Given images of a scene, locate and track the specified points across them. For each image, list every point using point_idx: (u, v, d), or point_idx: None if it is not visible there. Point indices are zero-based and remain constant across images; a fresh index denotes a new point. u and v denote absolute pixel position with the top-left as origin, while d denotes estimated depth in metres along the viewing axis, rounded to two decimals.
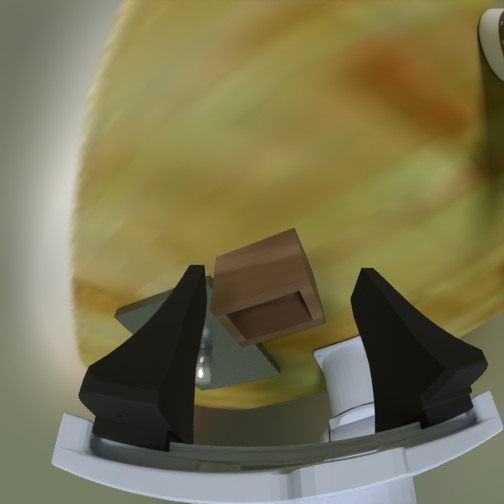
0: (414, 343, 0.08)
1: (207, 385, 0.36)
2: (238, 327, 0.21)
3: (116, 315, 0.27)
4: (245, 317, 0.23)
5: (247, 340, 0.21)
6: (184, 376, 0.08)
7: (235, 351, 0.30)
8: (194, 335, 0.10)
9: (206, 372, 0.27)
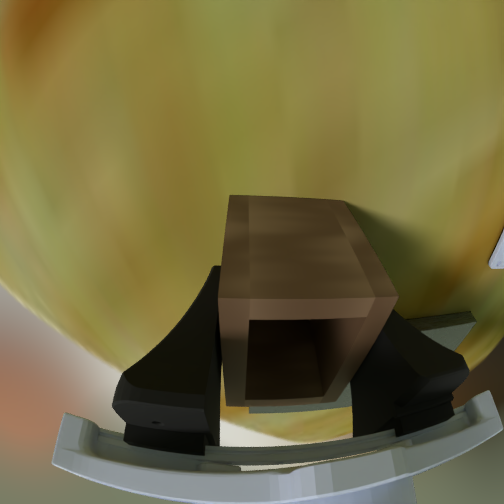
0: (389, 346, 0.08)
1: None
2: (292, 392, 0.11)
3: (249, 411, 0.23)
4: (313, 355, 0.13)
5: (325, 395, 0.11)
6: (216, 378, 0.08)
7: None
8: None
9: None
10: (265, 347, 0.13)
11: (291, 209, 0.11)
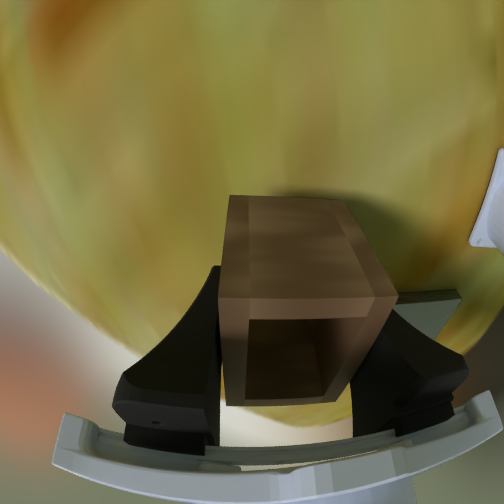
0: (389, 346, 0.08)
1: None
2: (292, 392, 0.11)
3: None
4: (313, 355, 0.13)
5: (325, 395, 0.11)
6: (215, 378, 0.08)
7: None
8: None
9: None
10: (265, 347, 0.13)
11: (291, 209, 0.11)
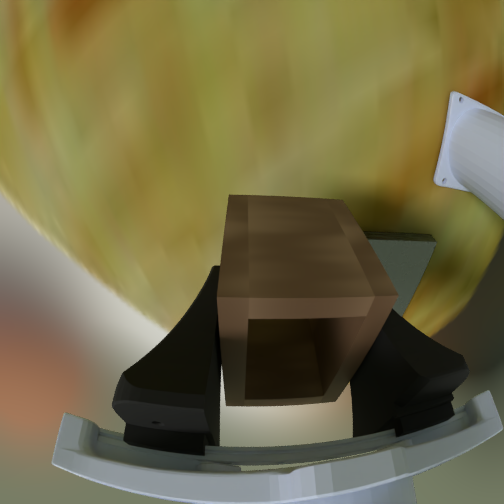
0: (389, 346, 0.08)
1: None
2: (292, 392, 0.11)
3: None
4: (313, 354, 0.12)
5: (325, 395, 0.11)
6: (215, 378, 0.08)
7: None
8: None
9: None
10: (265, 347, 0.13)
11: (290, 208, 0.11)
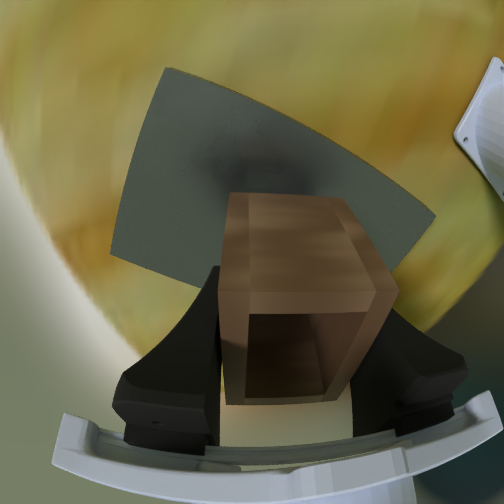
0: (389, 346, 0.08)
1: None
2: (292, 391, 0.11)
3: (111, 249, 0.17)
4: (313, 353, 0.12)
5: (326, 393, 0.11)
6: (216, 378, 0.08)
7: (327, 193, 0.15)
8: None
9: None
10: (265, 345, 0.13)
11: (291, 206, 0.11)
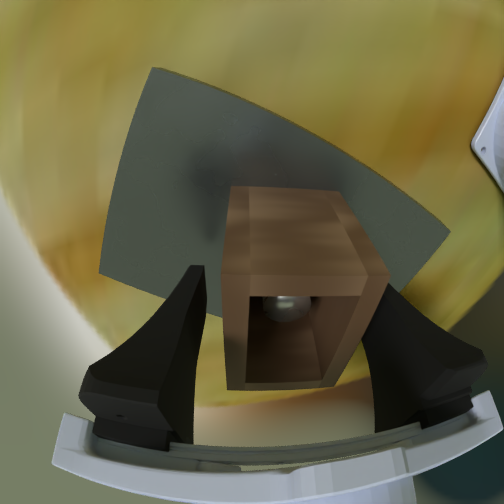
0: (415, 343, 0.08)
1: None
2: (291, 376, 0.11)
3: None
4: (311, 340, 0.13)
5: (324, 379, 0.11)
6: (184, 376, 0.08)
7: None
8: (194, 335, 0.10)
9: None
10: (265, 333, 0.13)
11: (289, 198, 0.11)
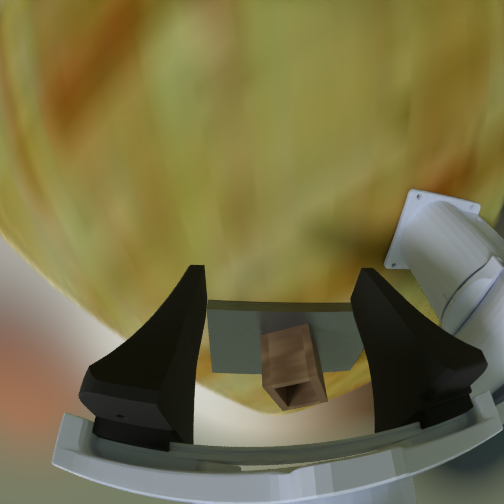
0: (414, 343, 0.08)
1: (345, 364, 0.32)
2: (306, 401, 0.26)
3: None
4: None
5: (320, 400, 0.26)
6: (184, 376, 0.08)
7: (310, 328, 0.27)
8: (194, 335, 0.10)
9: None
10: (294, 383, 0.28)
11: (284, 338, 0.27)
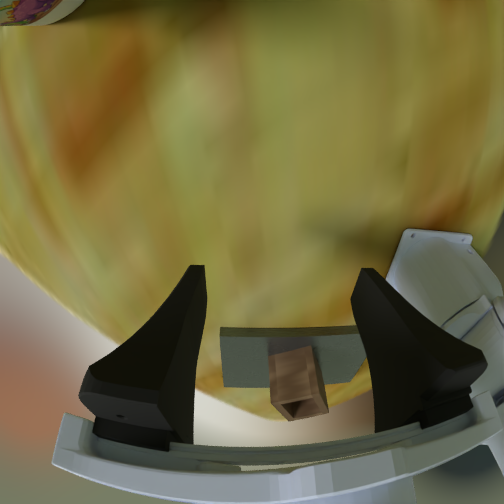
0: (415, 343, 0.08)
1: (346, 377, 0.35)
2: (309, 412, 0.28)
3: (224, 385, 0.35)
4: None
5: (322, 412, 0.28)
6: (184, 376, 0.08)
7: None
8: (194, 335, 0.10)
9: None
10: None
11: (289, 359, 0.29)
